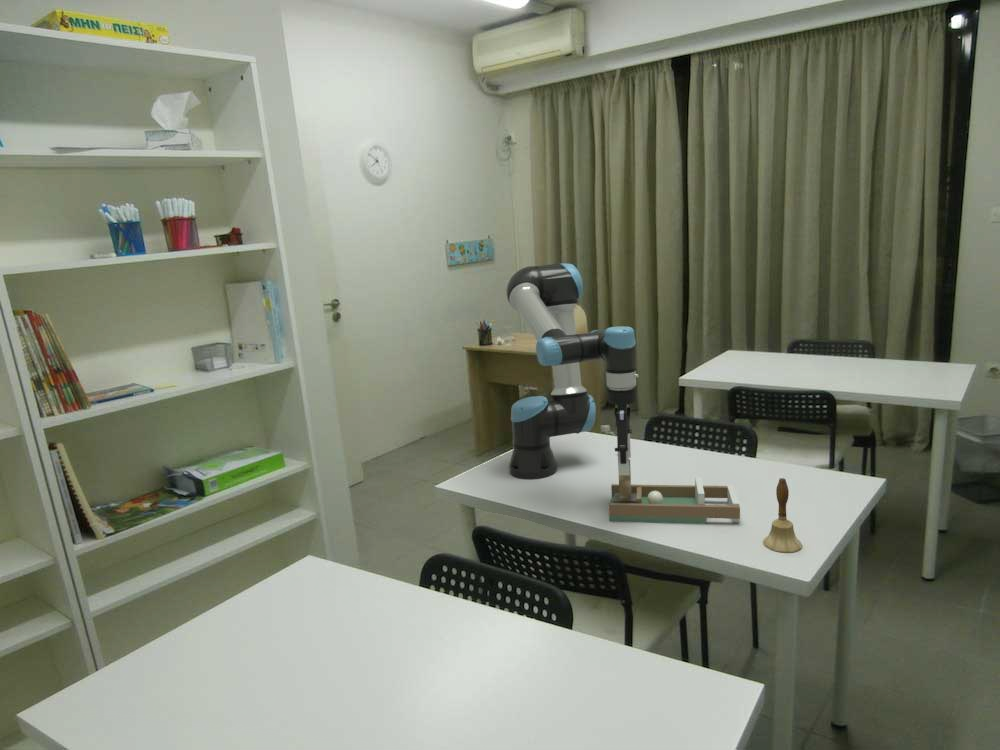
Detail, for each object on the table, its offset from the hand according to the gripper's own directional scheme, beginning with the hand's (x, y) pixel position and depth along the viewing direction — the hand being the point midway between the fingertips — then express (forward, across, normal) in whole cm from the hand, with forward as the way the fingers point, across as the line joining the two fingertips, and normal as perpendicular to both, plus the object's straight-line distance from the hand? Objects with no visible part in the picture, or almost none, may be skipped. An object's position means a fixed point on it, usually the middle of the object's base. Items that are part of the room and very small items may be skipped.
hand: (624, 465), depth 172 cm
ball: (+9, 0, -8) cm, 12 cm away
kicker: (+11, 0, 0) cm, 11 cm away
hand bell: (+13, -16, -36) cm, 42 cm away
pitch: (+13, 0, -12) cm, 17 cm away
